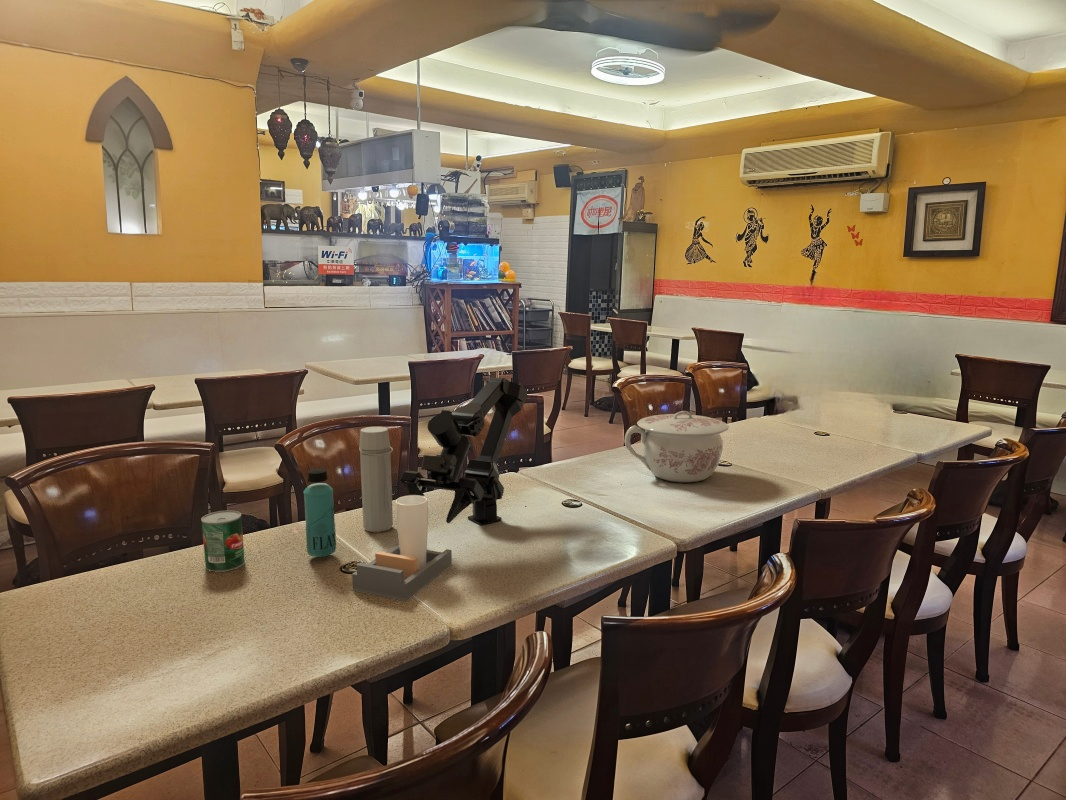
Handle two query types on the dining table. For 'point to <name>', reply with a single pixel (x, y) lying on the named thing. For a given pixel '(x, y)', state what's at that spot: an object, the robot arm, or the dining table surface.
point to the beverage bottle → (319, 515)
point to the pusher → (397, 562)
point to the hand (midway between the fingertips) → (428, 519)
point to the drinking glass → (412, 527)
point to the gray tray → (399, 576)
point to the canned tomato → (223, 540)
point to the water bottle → (376, 478)
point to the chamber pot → (679, 445)
